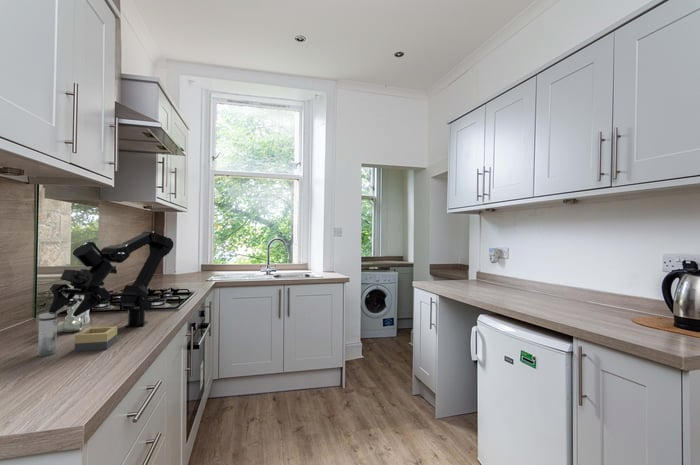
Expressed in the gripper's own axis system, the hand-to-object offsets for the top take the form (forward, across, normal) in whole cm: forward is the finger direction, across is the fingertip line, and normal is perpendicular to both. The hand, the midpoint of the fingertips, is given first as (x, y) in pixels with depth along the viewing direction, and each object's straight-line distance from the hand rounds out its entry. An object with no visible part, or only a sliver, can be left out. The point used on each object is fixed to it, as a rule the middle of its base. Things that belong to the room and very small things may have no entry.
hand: (61, 314), depth 104 cm
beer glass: (-11, -24, +26) cm, 37 cm away
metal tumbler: (+10, 0, +5) cm, 11 cm away
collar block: (+4, +8, +11) cm, 14 cm away
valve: (-4, -16, +19) cm, 25 cm away
